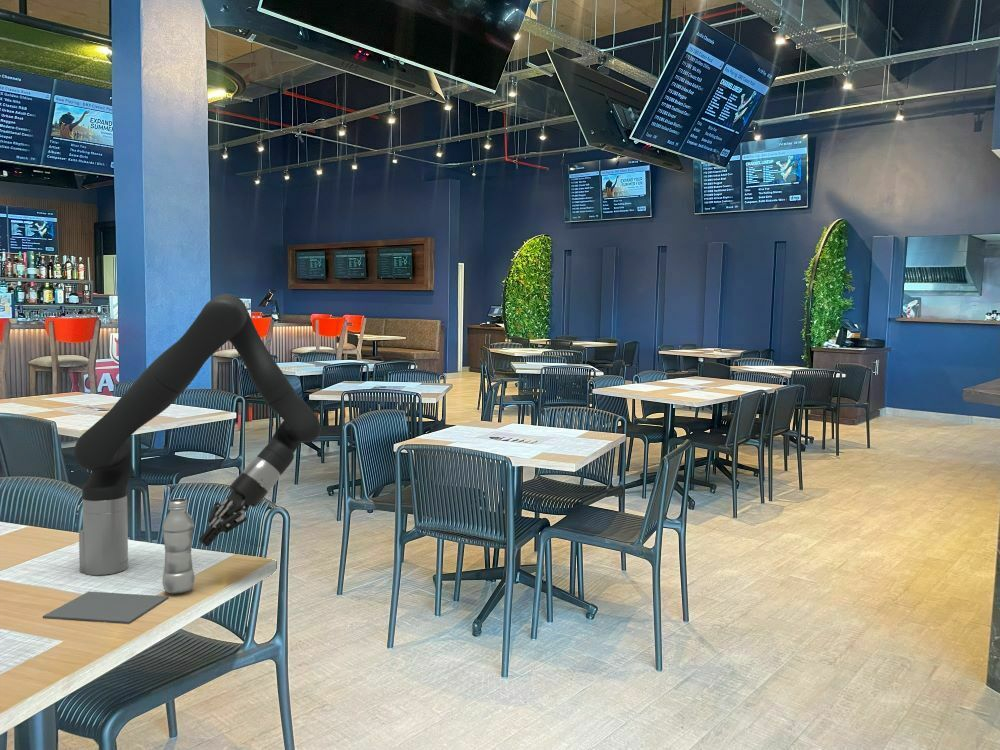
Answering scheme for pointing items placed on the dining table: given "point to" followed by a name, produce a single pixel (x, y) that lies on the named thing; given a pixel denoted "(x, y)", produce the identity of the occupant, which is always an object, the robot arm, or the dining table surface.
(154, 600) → the rubber mat
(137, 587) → the dining table surface
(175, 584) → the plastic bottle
